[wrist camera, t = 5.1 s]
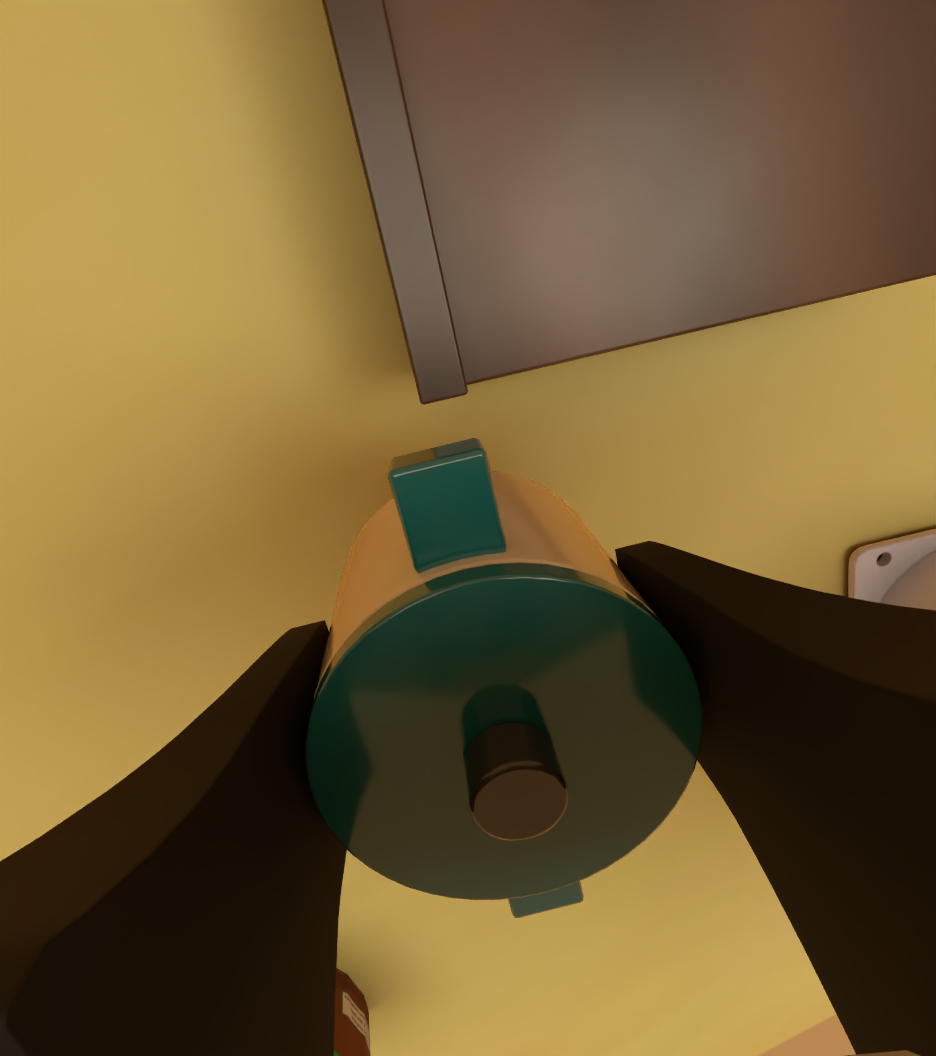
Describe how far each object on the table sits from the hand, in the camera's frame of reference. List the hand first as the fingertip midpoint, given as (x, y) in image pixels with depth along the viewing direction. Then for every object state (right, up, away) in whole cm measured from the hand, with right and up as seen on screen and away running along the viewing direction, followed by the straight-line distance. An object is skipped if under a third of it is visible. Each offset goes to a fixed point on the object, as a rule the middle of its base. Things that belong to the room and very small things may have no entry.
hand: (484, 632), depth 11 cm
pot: (0, +1, +1) cm, 2 cm away
